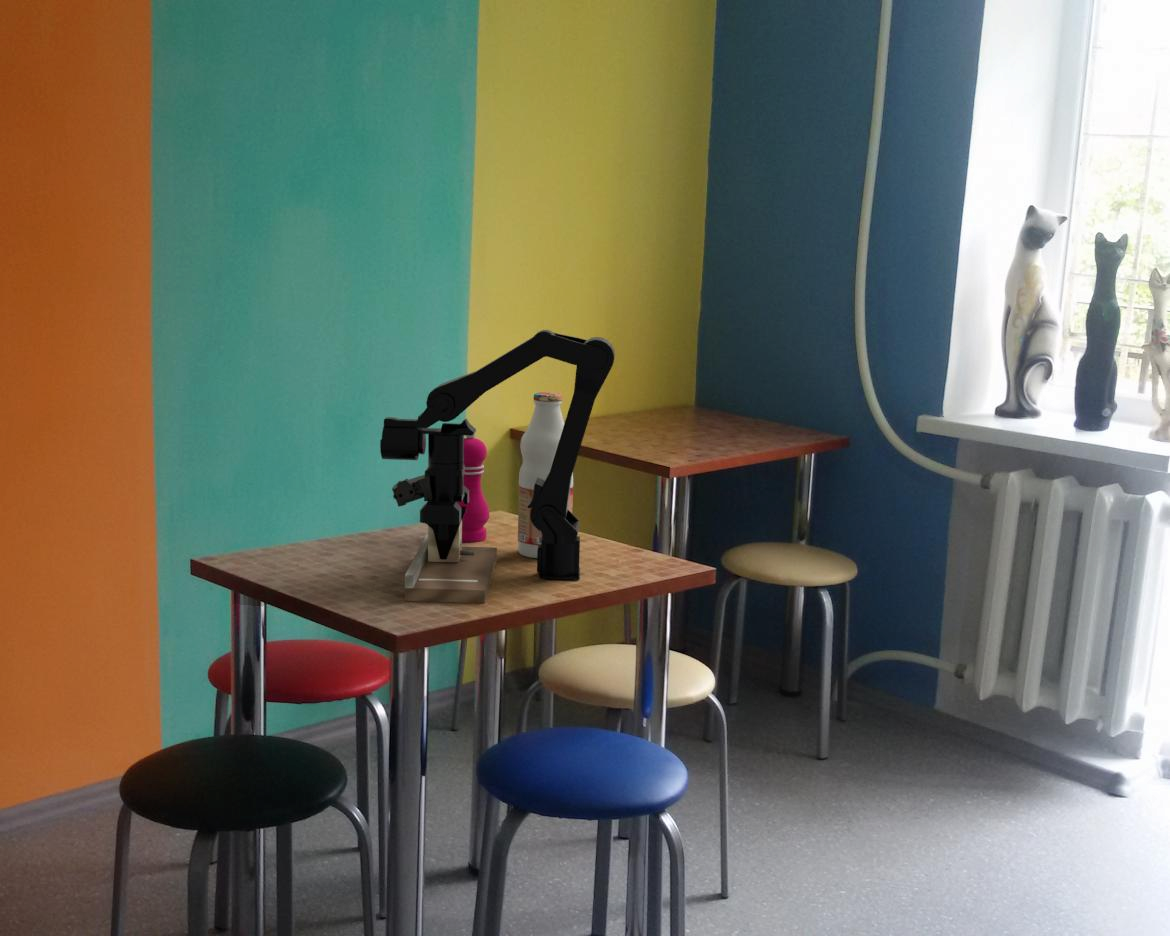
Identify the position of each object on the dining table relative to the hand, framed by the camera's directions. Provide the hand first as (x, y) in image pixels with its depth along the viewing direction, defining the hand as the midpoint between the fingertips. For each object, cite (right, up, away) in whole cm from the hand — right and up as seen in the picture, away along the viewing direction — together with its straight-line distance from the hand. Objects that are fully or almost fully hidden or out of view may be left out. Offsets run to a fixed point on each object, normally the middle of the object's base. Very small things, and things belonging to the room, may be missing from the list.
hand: (445, 555), depth 226 cm
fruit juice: (+16, -1, +15) cm, 22 cm away
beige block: (+1, -1, 0) cm, 1 cm away
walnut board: (+2, -4, -4) cm, 6 cm away
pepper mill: (+2, +1, +24) cm, 25 cm away
